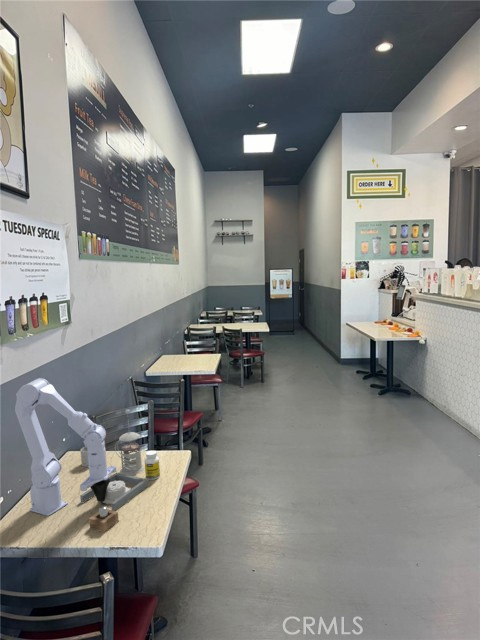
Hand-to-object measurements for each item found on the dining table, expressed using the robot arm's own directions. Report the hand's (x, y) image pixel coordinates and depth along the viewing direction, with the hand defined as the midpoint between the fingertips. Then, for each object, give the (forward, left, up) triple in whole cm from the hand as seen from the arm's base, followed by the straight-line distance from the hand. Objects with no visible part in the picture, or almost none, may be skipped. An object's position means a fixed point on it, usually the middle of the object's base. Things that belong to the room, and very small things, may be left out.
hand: (101, 500), depth 136 cm
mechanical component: (+1, +6, -2) cm, 6 cm away
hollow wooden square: (+10, -9, -1) cm, 13 cm away
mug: (-29, +24, -1) cm, 38 cm away
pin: (+10, -9, -1) cm, 13 cm away
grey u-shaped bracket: (0, +7, -1) cm, 7 cm away
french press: (-8, +24, -1) cm, 25 cm away
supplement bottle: (+5, +22, -1) cm, 22 cm away
